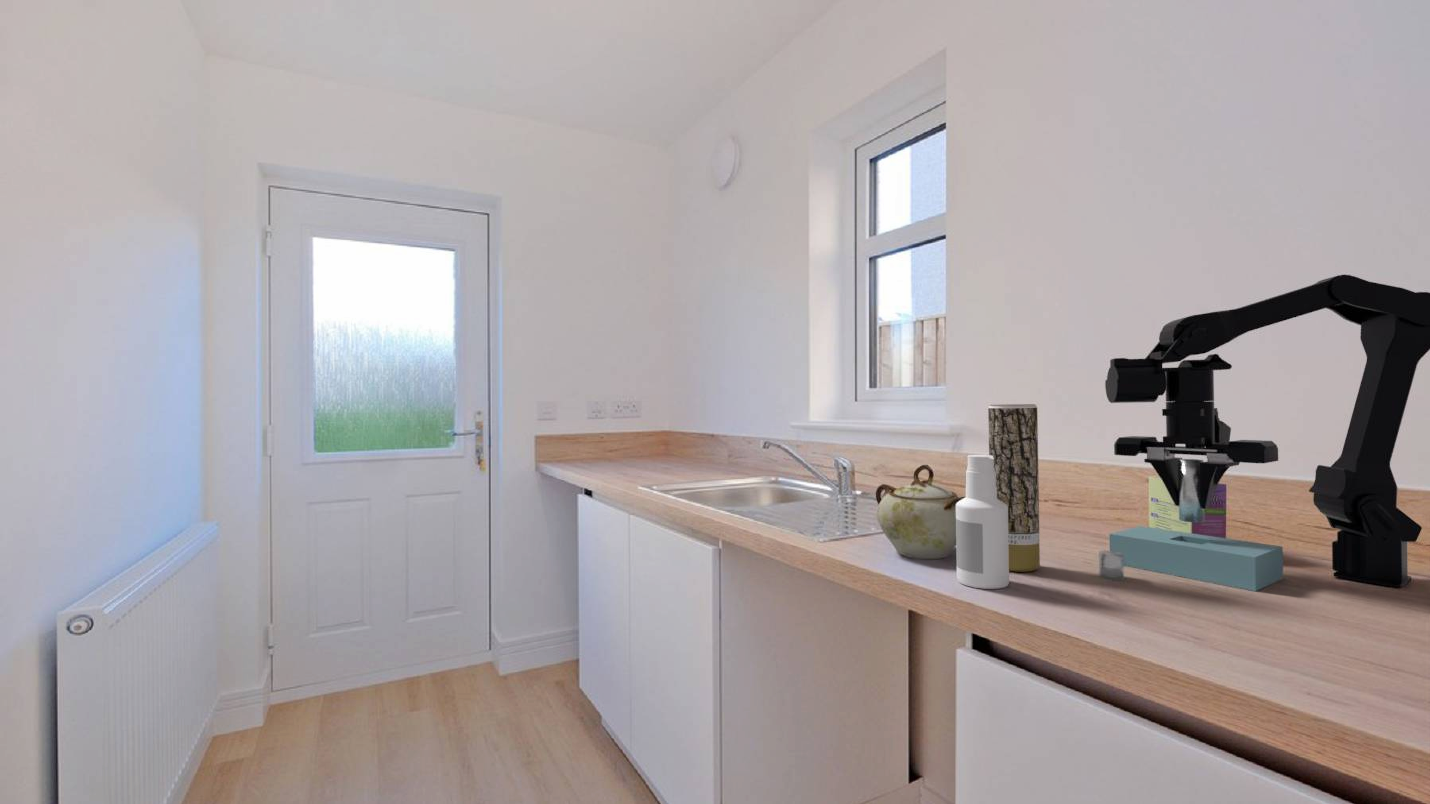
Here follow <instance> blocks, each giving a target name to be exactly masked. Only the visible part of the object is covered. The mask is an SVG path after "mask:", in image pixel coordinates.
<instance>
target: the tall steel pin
mask: <svg viewBox="0 0 1430 804" xmlns="http://www.w3.org/2000/svg"><path fill="white" fill-rule="evenodd" d="M1201 462H1204V460H1203V459H1198V458H1196V459H1195V458H1194V459H1193V458H1182V459H1178V490H1179V520H1180V521H1185V522H1195V523H1201V522H1204V509H1202V506H1201V500H1200V463H1201Z"/></svg>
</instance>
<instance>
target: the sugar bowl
mask: <svg viewBox="0 0 1430 804" xmlns="http://www.w3.org/2000/svg"><path fill="white" fill-rule="evenodd" d="M923 470H926V471H927V472H928V478H927V480H926V479H925V480H923V479H922V480H920V478H919V474H920V473H921V472H922V471H923ZM933 481H934V471H933V469H932V467H931V466H930V465H928V464H922V465H920V466H919V467H917V468H916V469H915V470H914V472H913V481H912V482H911V483H909V484H906V485H905V484H904V485H902V486H899V487H894V486H891V485H889V484H886V483H885V484H884V483H882V484H880V485H879V486H877V488H876V491H875V498H876V502H877V504H878V506H877V510H876V517H877V522H878V525H879V527H880V529H881V531H882V532H883V534H884V535H885V537H886V538H887V539H888V541H890V543H891V544H892V545H893V548H894V549H895V550H896V552H897V553H898V554H899V555H902V556H905V557H907V558H912V559H921V560H922V559H923V560H934V559H935V560H937V559H938V560H939V559H943V558H947V557H949V556H950V555H951V553H952V551H953V550H954V549H955V547H956V503H957V502H958V501H960V500H962V499H963V498H965V497H966V496H961V497H960V496H958V494H957V493H956V492H953V491H951V490H948V489H947V488H945V487H943V486H940V485H936V484H933ZM883 491H884V492H883ZM882 492H883V494H882Z"/></svg>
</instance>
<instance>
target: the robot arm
mask: <svg viewBox="0 0 1430 804" xmlns="http://www.w3.org/2000/svg"><path fill="white" fill-rule="evenodd" d="M1324 309H1326V310H1327V309H1328V310H1329V311H1331V312H1333V313H1335V314H1336V315H1338V316H1339V317H1340V318H1342V319H1343V320H1345V321H1348V322H1350V323H1353V324H1356V325H1358V326H1360V341H1361V344H1362V348H1363V350H1364V352H1365V355H1366V361H1365V362H1366V363H1365V366H1364V370H1363V373H1362V377H1361V380H1360V383H1359V388H1358V392H1357V395H1356V399H1355V403H1354V407H1353V410H1352V414H1351V417H1350V421H1349V425H1348V428H1347V433H1346V435H1345V440H1344V443H1343V446H1342V447H1343V448H1342V451H1341V454H1340V456H1339V457H1338V458H1337V460H1335V462H1333V464H1332V465H1331V466H1327V465H1323V464H1322V465H1320V464H1319V465H1317V467H1316V468H1315V474H1314V475H1315V479H1314V483H1313V484H1312V486H1311V487H1310V489H1308V492H1309V493H1313V496H1312V497H1313V498H1312V499H1313V501H1312V502H1313V504H1314V506H1315V507H1316V508H1317V510H1319V512H1320V513H1321V514H1322V515H1324V516H1325V517H1326V519H1327V522H1328V524H1329V526H1330V527H1331V529H1332V528H1333V529H1338V530H1339V531H1337V532H1336V535H1337V537H1336V538H1337V539H1335V540H1334V541H1332V542H1331V552H1332V553H1331V554H1332V555H1331V556H1332V558H1331V559H1332V560H1331V561H1332V563H1331V564H1332V566H1331V567H1332V570H1333V577H1335V578H1340V579H1346V580H1353V581H1358V582H1362V583H1363V582H1364V583H1370V584H1376V585H1382V586H1388V587H1395V588H1402V587H1403V586H1405V585H1406V584H1408V583H1409V582H1411V581H1412V578H1413V577H1412V576H1411V575H1408V542H1412V543H1413V542H1414V543H1416V542H1417V540H1418V539H1419V536H1420V534H1421V531H1422V529H1423V527H1422V526H1421V525H1420V524H1419V523H1417V522H1416V521H1415V520H1414V519H1412V518H1411V517H1410V516H1408V515H1407V514H1406V513H1405V512H1404V511H1402V510H1401V509H1400V508H1398V506H1397V505H1398V504H1397V502H1398V501H1397V500H1398V485H1397V482H1396V480H1395V477H1394V474H1393V471H1392V468H1391V461H1392V457H1393V453H1394V450H1395V447H1396V446H1395V445H1396V442H1397V438H1398V434H1399V433H1400V432H1399V431H1400V428H1401V424H1402V420H1403V418H1404V415H1405V410H1406V406H1407V403H1408V399H1409V396H1410V392H1411V390H1412V389H1411V387H1412V384H1413V382H1414V378H1415V373H1416V372H1417V371H1416V370H1417V366H1418V364H1419V362H1420V361H1421V359H1423V357H1424V356H1426V354H1427V353H1428V352H1429V351H1430V292H1427V291H1418V292H1417V291H1413V290H1410V289H1406V288H1405V287H1399V286H1394V285H1390V284H1384V283H1378V282H1373V281H1368V280H1365V279H1363V278H1359V277H1357V276H1355V275H1351V274H1340V275H1335V276H1332V277H1327V278H1324V279H1321V280H1319V281H1316V282H1315V283H1313V284H1310V285H1307V286H1305V287H1300V288H1297V289H1295V290H1292V291H1289V292H1285V293H1283V294H1278V295H1276V296H1273V297H1269V298H1266V299H1263V300H1260V301H1257V302H1254V303H1249V304H1247V305H1245V306H1240V307H1237V308H1233V309H1228V310H1227V309H1225V310H1220V311H1219V310H1218V311H1211V312H1206V313H1200V314H1194V315H1190V316H1184V317H1181V318H1179V319H1176V320H1172V321H1170V322H1168V323H1166V324H1165V325H1164V326H1163V327H1162V329H1161V331H1160V333H1159V336H1158V337H1159V338H1158V340H1159V341H1158V342H1157V343H1156V345H1155V346H1154V347H1153V349H1152V350H1151V351H1150V352H1149V353H1148V354H1147V356H1146V357H1145V358H1126V357H1118V358H1116V357H1115V358H1111V359H1110V361H1109V362H1110V367H1109V368H1108V372H1107V374H1106V375H1107V376H1106V379H1105V383H1104V385H1105V387H1104V388H1105V393H1106V394H1105V395H1106V398H1107V400H1108V402H1109V403H1111V404H1119V403H1120V404H1121V403H1122V404H1124V403H1127V404H1128V403H1155V402H1156V401H1157V400H1158V398H1159V396H1163V395H1164V394H1165V408H1162V410H1161V411H1162V412H1161V414H1162V416H1163V417H1165V422H1166V423H1165V427H1166V428H1165V430H1166V431H1165V433H1166V435H1165V436H1162V441H1159V440H1158V439H1157V437H1156V436H1141V435H1140V436H1137V435H1136V436H1135V435H1130V436H1122V437H1120V436H1119V437H1118V438H1117V439H1116V441H1114V446H1113V449H1114V450H1113V451H1114V454H1113V455H1114V456H1125V457H1137V456H1138V455H1139V454H1146V458H1144V463H1149V464H1151V466H1152V468H1153V469H1154V471H1155V472H1156V473H1157V476H1160V478H1161V479H1162V481H1163V483H1164V485H1165V486H1166V488H1167V490H1168V492H1169V494H1170V496H1171V498H1172V500H1173V502H1174V504H1175V505H1176V506H1179V490H1178V459H1183V457H1176V455H1188V456H1189V455H1192V456H1206V458H1207V461H1203V462H1201V463H1200V500H1201V506H1202V509H1207V508H1208V507H1209V504H1210V502H1211V500H1212V497H1213V495H1214V493H1215V490H1216V488H1217V486H1218V483H1220V481H1221V479H1223V476H1224V475H1225V473H1226V472H1227V471H1228V470H1229V468H1230V467H1235V466H1236V467H1237V466H1239V465H1240V463H1242V464H1243V463H1248V464H1268V463H1269V464H1270V463H1274V462H1279V448H1278V445H1277V444H1276V443H1275V442H1274V441H1272V440H1260V439H1259V440H1256V439H1254V440H1253V439H1237V440H1232V441H1231V434H1232V433H1231V431H1232V427H1230V426H1229V425H1228V424H1226V423H1225V422H1224V421H1221V420H1220V418H1219V411H1218V407H1215V388H1214V387H1215V384H1214V383H1215V381H1214V377H1215V376H1214V374H1215V372H1214V371H1224V370H1227V371H1228V370H1231V369H1232V367H1233V365H1232V364H1231V363H1229V362H1228V361H1226V360H1224V359H1223V358H1222V357H1220V355H1219V353H1213V354H1209V355H1207V357H1206V358H1204V359H1186V358H1188V357H1190V356H1196V355H1197V356H1198V355H1202V354H1206V353H1209V352H1211V351H1213V350H1216V349H1217V348H1219V347H1221V346H1224V345H1226V344H1227V343H1230V342H1232V341H1233V340H1235V339H1237V338H1238V337H1240V336H1242V335H1244V334H1246V333H1249V332H1252V331H1255V330H1258V329H1261V328H1264V327H1265V328H1266V327H1268V326H1272V325H1274V324H1278V323H1280V322H1284V321H1288V320H1290V319H1291V320H1292V319H1294V318H1298V317H1300V316H1304V315H1307V314H1310V313H1313V312H1317V311H1320V310H1324ZM1177 362H1178V363H1179V362H1180V363H1179V364H1178V366H1177V367H1163V364H1170V363H1177ZM1178 445H1181V446H1178ZM1182 445H1185V446H1182Z"/></svg>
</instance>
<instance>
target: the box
mask: <svg viewBox="0 0 1430 804" xmlns="http://www.w3.org/2000/svg"><path fill="white" fill-rule="evenodd" d="M1148 527H1151V528H1158V529H1165V530H1172V531H1179V532H1185V533H1192V534H1199V535H1206V536H1213V537H1220V538H1227V484H1226V483H1221V482H1219V483H1218V486H1217V488H1216V490H1215V493H1214V495H1213V497H1212V500H1211V502H1210V504H1209V507H1208V508H1207V509H1204V522H1201V523H1195V522H1185V521H1180V520H1179V506H1176V505H1175V504H1174V502H1173V500H1172V498H1171V496H1170V494H1169V492H1168V490H1167V488H1166V486H1165V485H1164V483H1163V481H1162V479H1161V478H1160V476H1159V475H1149V476H1148Z"/></svg>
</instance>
